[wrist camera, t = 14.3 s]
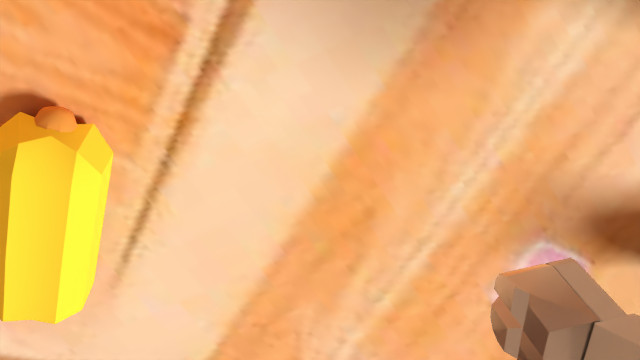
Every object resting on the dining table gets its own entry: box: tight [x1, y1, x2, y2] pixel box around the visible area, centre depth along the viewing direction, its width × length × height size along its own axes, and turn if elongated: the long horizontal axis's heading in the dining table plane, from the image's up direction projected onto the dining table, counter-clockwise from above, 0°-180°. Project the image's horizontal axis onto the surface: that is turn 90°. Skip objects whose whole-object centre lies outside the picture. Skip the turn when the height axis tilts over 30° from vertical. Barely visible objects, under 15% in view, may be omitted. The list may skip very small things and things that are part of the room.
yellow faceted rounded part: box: [0, 106, 113, 324], centre depth 40 cm, size 18×7×8 cm
